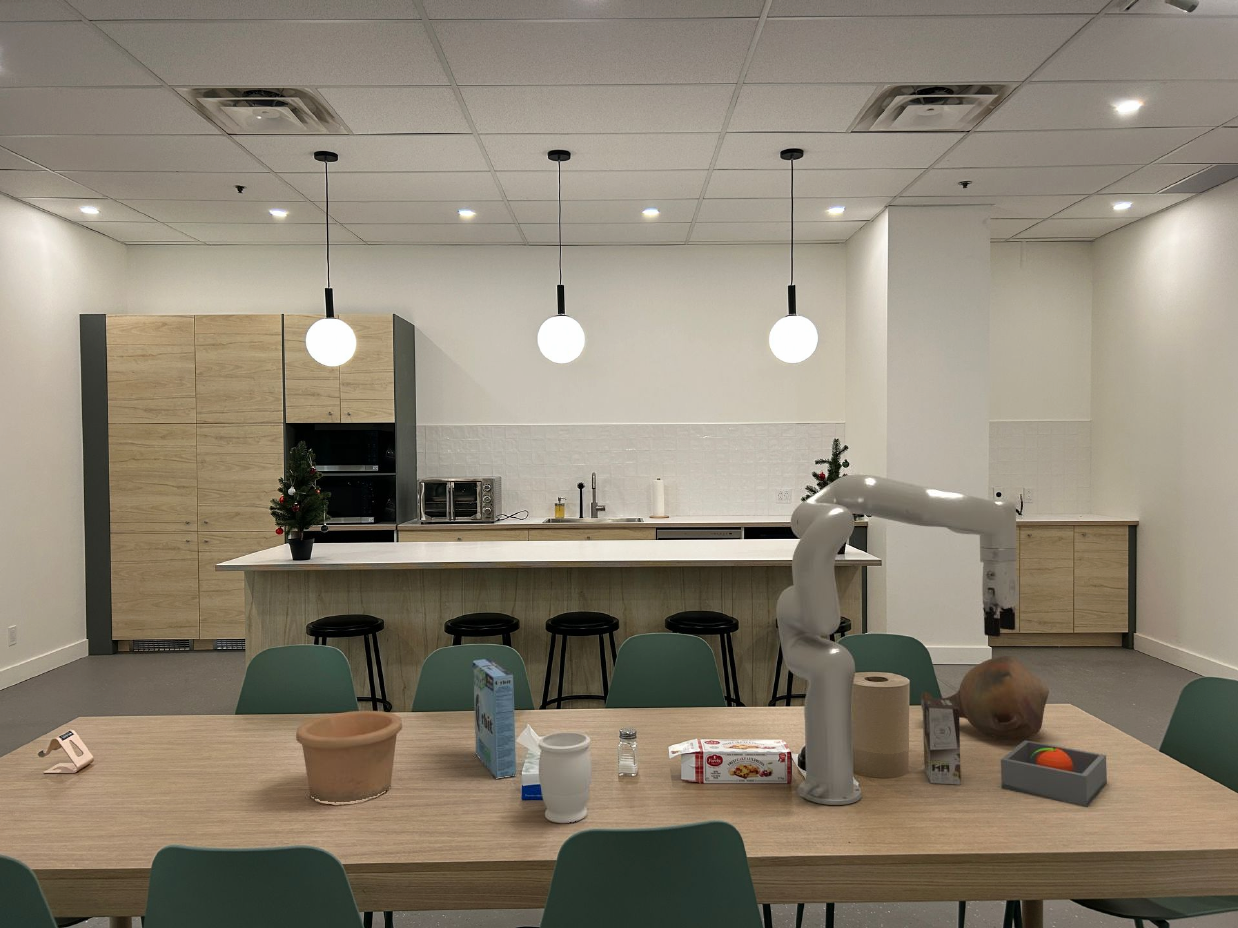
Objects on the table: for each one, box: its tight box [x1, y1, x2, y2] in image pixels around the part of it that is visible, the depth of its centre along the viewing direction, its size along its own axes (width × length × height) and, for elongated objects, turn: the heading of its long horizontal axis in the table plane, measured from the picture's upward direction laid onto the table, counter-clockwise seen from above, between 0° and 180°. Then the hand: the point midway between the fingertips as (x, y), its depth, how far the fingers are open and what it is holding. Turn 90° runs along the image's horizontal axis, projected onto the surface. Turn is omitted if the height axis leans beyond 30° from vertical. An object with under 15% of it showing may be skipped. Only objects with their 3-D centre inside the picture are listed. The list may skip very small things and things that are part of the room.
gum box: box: [472, 658, 517, 779], centre depth 198 cm, size 20×5×23 cm, turn 23°
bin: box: [1000, 739, 1108, 808], centre depth 177 cm, size 16×16×6 cm
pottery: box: [295, 710, 403, 803], centre depth 184 cm, size 22×22×14 cm
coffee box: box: [922, 697, 962, 786], centre depth 184 cm, size 9×6×16 cm
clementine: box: [1031, 748, 1073, 772], centre depth 177 cm, size 8×7×7 cm
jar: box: [537, 731, 593, 824], centre depth 168 cm, size 11×10×15 cm
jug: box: [920, 655, 1050, 740], centre depth 213 cm, size 20×20×30 cm
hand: (1000, 632), depth 189 cm, fingers open, 9 cm apart
